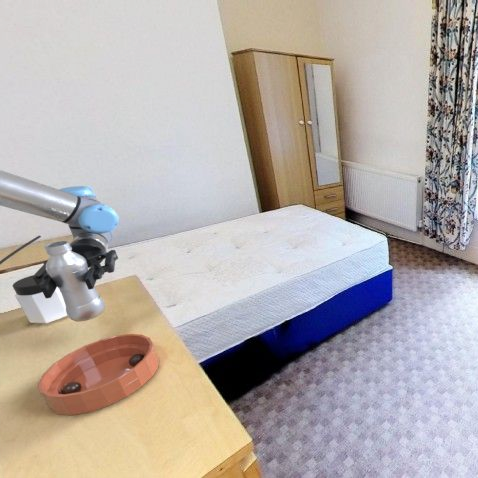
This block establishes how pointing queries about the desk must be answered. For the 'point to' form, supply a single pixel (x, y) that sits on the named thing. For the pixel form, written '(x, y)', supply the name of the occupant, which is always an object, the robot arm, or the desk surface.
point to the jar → (39, 302)
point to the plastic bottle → (73, 282)
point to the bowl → (99, 374)
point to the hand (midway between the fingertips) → (67, 288)
